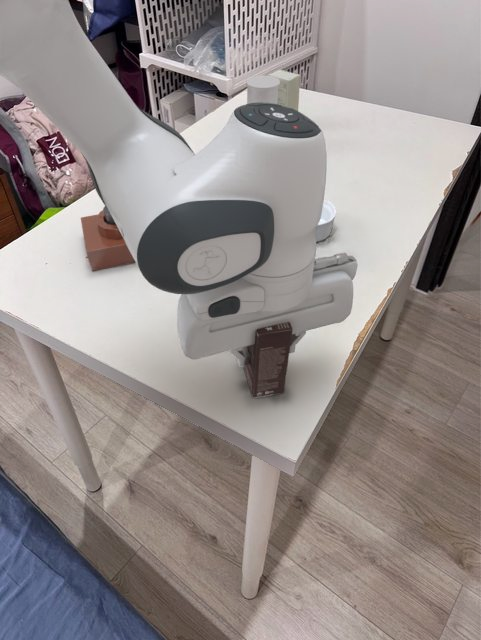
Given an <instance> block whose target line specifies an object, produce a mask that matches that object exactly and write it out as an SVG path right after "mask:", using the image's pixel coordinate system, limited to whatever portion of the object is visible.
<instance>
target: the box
mask: <svg viewBox="0 0 481 640" xmlns="http://www.w3.org/2000/svg"><path fill="white" fill-rule="evenodd" d="M292 331H293V329H292V326H291V324H290V322H287V323H282V324H277V325H272V326H268V327H264V328H260V329H257V330H256V332H255V344H253V345H250V346H247V348H248V352H250V354H251V364H248V365H244V366H243V370H244V373H245V377H246V381H247V383H248V387H249V391H250V394H251V397H252V399H260V398H265V397H271V396H275V395H280V394H283V393H285V388H286V382H287V381H286V380H287V373H288V364H289V357H290V354H289V352H290V345H291V337H292Z"/></svg>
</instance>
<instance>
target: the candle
mask: <svg viewBox="0 0 481 640" xmlns="http://www.w3.org/2000/svg"><path fill="white" fill-rule="evenodd" d="M245 85H246V86H247V87H246V88H247V89H246V93H247V94H246V95H247V96H246V104H249V103H257V102H261V103H273V104H277V101H278V86H279V85H280V81H279V79H277V78H275V77H273V76H268V74H265V75H264V74H260V75H252V76H249V77H248V78H247V79H246V80H245Z"/></svg>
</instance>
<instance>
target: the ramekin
mask: <svg viewBox="0 0 481 640" xmlns="http://www.w3.org/2000/svg"><path fill="white" fill-rule="evenodd" d="M336 217H337V207H335V204H333V203H332V202H331V201H329V200H328V199H325V198H324V202H323V208H322V215H321V218H320V221H319V223H318V225H317V227H316V229H315V240H316V243H318V242H321V241H323V240H326V239H327V238H328V237H329V236H330V235H331V233H332V228H333V225H334V221H335V219H336Z"/></svg>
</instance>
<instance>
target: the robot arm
mask: <svg viewBox="0 0 481 640" xmlns="http://www.w3.org/2000/svg"><path fill="white" fill-rule="evenodd" d="M89 39H90V38H88V36H87V35H86V33H85V32H84V30H83V28H82V26H81V25H80V23H79V21H78V19H77V17H76V15H75V13H74V11H73V8H72V6H71V4H70V1H69V0H0V76H1V77H2V78H4V79H6V80H7V81H8V82H9V83H11V84H12V85H14V86H15V87H16V88H17V89H18V90H19V91H20V92H21V93H22V94H24V96H25V97H27V99H28V100H29V101H31V103H32V104H33V105H34V106H35V107H36V108H37V109H38V110H39V111H40V112H41V113H42V114H43V115H44V116H45V118H47V119H48V120H49V121H50V123H52V124H53V125H54V127H56V128H57V129H58V130H59V132H60V133H61V134H62V135H63V136H64V137H65V138H66V139H67V140H68V141H69V142H70V143H71V144H72V145H73V146H74V147H75V148H76V149H77V150H78V152H79V153H80V154H81V155H82V157H83V158H84V160H85V162H86V166H87V169H88V171H89V175H90V178H91V181H92V184H93V186H94V189H95V192H96V194H97V195H98V197H99V198H100V200H101V201H102V203H103V205H104V207H105V206H106V208H107V209H108V210H109V212H110V214H111V216H112V217H113V219H114V221H115V223H116V225H117V227H118V229H119V231H120V233H121V235H122V237H123V239H124V241H125V243H126V245H127V247H128V249H129V251H130V253H131V255H132V256H133V258H134V260H135V262H134V263H135V264H136V266H137V267H138V269H139V272H140V273H141V275H142V276H143V278H144V279H145V280H146V281H147V282H148V283H149V284H150V285H151V286H153V288H156V289H158V290H160V291H162V292H166V293H171V294H174V295H180V296H179V298H178V301H177V310H176V311H177V313H176V322H177V324H176V325H177V334H178V340H179V343H180V347H181V349H182V352H183V354H184V356H185V357H187V358H188V359H189V360H192V361H193V360H194V361H196V360H199V359H202V358H208V357H210V356H211V357H212V356H214V355H219V354H222V353H226V352H230V354H231V355H232V356H234V357H235V360H236V362H237V365H238V367H239V368H241V367H244V365H248V364H251V354H250V352H248V348H247V346H250V345H253V344H255V332H256V330H257V329H260V328H264V327H268V326H272V325H277V324H282V323H287V322H290V324H291V326H292V329H293V331H292V337H291V345H290V352H289V355H290V354H294V353H296V346H297V344H298V343H300V341H301V340H302V339H303V338H304V337H305V336H306V334H307V332H308V331H311V330H316V329H320V328H322V327H327V326H330V325H335V324H339V323H342V322H344V321H345V320H346V319H347V318H348V317H349V316H350V315H351V313H352V308H353V302H354V283H353V280H354V279H355V276H356V275H357V271H358V266H359V265H358V261H357V259H356V257H354V256H353V255H348V254H347V253H346V252H341V253H336V254H334V255H331V256H324V257H318V258H316V255H317V242H316V240H315V229H316V227H317V225H318V223H319V221H320V218H321V215H322V208H323V202H324V199H325V192H326V184H327V171H328V170H327V169H328V168H327V166H328V159H327V158H328V156H327V145H326V139H325V135H324V132H323V130H322V129H321V128H320V127H319V124H317V123H316V122H315V121H314V120H312V119H311V118H309V117H308V116H307V115H305V114H303V113H302V112H301V111H299V110H298V111H297V110H295V109H293V108H288V107H285V106H282V105H279V104H273V103H261V102H257V103H249V104H247V103H246V104H243V105H242V104H241V105H240V106H237V107H236V108H235V109H234V110H233V111H232V112H231V115H230V117H229V119H228V121H227V122H226V124H225V125H224V127H223V128H222V129H221V130H220V132H219V133H218V134H216V136H214V138H213V139H212V140H211V141H210V142H209V143H208V144H207V145H205V146H204V147H203V148H202V149H200V150H199V151H198V152H196V153H195V152H194V151H193V150H192V148H191V147H190V145H189V143H188V142H187V140H186V139H185V138H184V137H183V135H181V133H180V132H178V130H176V129H175V128H173V127H172V126H170V125H169V124H167V123H165V122H164V121H162V120H161V119H159V118H157V117H155V116H153V115H151V114H150V113H148V112H146V111H145V110H143V109H142V108H140V107H139V106H138V105H137V104H136V103H135V101H134V100H133V99H132V98H131V96H130V95H129V94H128V92H127V91H126V89H125V88H124V87H123V85H122V83H121V82H120V81H119V80H118V78H117V76H115V74H114V73H113V71H112V70H111V68H110V67H109V66H108V64H107V62H105V60H104V59H103V58H102V56H101V55H100V53H99V52H98V50H97V49H96V48H95V46H94V45H93V43H92V42H91V41H90V40H89Z"/></svg>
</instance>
